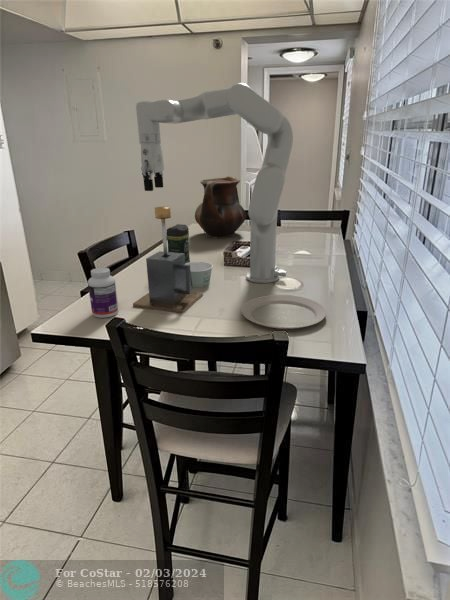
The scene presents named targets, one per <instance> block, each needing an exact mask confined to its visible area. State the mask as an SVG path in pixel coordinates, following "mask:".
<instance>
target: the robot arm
mask: <svg viewBox="0 0 450 600" xmlns="http://www.w3.org/2000/svg"><path fill="white" fill-rule="evenodd" d="M135 112H136V121H137V131H138V142H139V143H138V144H139V145H140V161H141V167H140V170H141V175H142V179H143V187H144V192H154V187H155V188H158V189H159V188H160V189H161V188H164V178H163V176H164V174H163V171H165V167H164V166H165V165H164V158H163V151H162V146H161V144H162V141H161V130H160V124H169V125H170V124H172V125H175V124H181V123H186V122H193V121H200V120H209V119H215V118H216V119H217V118H221V117H222V118H223V117H230V116H235V115H238V116H239V117H240V118H241V119H243V120H245V121H246V122H247V123H249V124H250V125H251V126H252V127H253V128H255V129H256V130H258V131H259V133H262V134H264V135H267V145H266V149H265V153H264V157H263V161H262V165H261V168H260V169H259V171H258V172H257V174H256V176H255V181H254V184H253V189H252V193H251V197H250V200H249V206H248V212H247V215H248V217H249V220H250V240H249V241H250V247H249V249H250V250H249V252H250V253H249V255H250V256H249V257H250V259H249V261H250V263H249V265H250V266H249V267H250V269H249V272H247V273H246V274H245V278H246V280H247V281H250V282H251V283H252V282H253V283H258V284H269V283H274V282H277V281H278V280H280V277H284V278H286V277H287V271H285V270H284V269H279V268H278V265H276V256H277V255H276V253H277V225H278V224H277V223H278V207H279V203H280V201H281V200H280V199H281V196H282V192H283V190H284V185H285V182H286V173H287V170H288V169H287V168H288V165H289V162H290V156H291V152H292V147H293V142H294V135H293V134H294V133H293V132H294V131H293V127H292V126H291V123H290V120H288V118H287V117H286V116H285V114H284V113H283V112H282V111H281V110H279V109H278V108H277V107H276V106H275V105H273V104H272V103H270V102H269V101H268V100H267V99H265V98H264V97H263V96H261V95H260V94H258V93H257V92H256V91H255V90H253V89H252V87H250V86H249V85H248V84H246V83H243V82H238V83H235V84H233V85H232V86H231V87H223V88H219V89H217V88H216V89H212V90H207V91H203V92H202V93H200V94H198V95H197V96H194V97H191V98H185V99H178V100H172V99H168V98H167V99H166V98H163V99H159V100H155V101H152V100H151V101H150V100H144V101H143V100H141V101H138V102H136V105H135ZM153 174H154V177H153ZM152 178H153V179H154V181H153V179H152Z"/></svg>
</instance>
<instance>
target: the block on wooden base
mask: <svg viewBox="0 0 450 600" xmlns="http://www.w3.org/2000/svg"><path fill="white" fill-rule="evenodd" d="M167 254H168V257H164V251H162V250H161V251H158V252H155V253H154V254H152V255H150V256H148V257H147V258H145V262H146V272H147V284H148V292H147V293H146V294H145V295H143V296H141V297H140V298H139V299H137V300H136V301H134V302H132V307H136V308H142V309H150V310H155V311H165V312H173V313H181V314H184V313H185V312H186V311H187V310H188V309H189V308H190V307H192V306H193V305H194V304H195V303H196V302H197V301H198V300H199V299H201V298H202V297H203V295H204V294H203V292H200V291H199V292H197V291H192V286H191V273H190V265H185V253H174V252H168V251H167Z"/></svg>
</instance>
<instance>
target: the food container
mask: <svg viewBox="0 0 450 600" xmlns="http://www.w3.org/2000/svg"><path fill="white" fill-rule="evenodd" d="M185 265H190V273H191V288H192V287H194V288H197V287H198V288H199V287H205V286H207V285H209V284H210V283H211V276H212V270H213V267H214V265H213V264H212V263H210V262H206V261H191V262H189V263H186V264H185Z"/></svg>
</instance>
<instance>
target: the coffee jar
mask: <svg viewBox="0 0 450 600" xmlns="http://www.w3.org/2000/svg"><path fill="white" fill-rule="evenodd" d="M189 233H190V232H189V226H187V225H186V224H181V223H177V224H175V225H173V226H171V227H170V226H169V227H168V228H166V239H167V252H174V253H185V264H186V263H189V262H190V261H191V259H190V257H191V256H190V249H189V248H190V246H189V244H190V243H189V238H190V237H189V235H190V234H189Z"/></svg>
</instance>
